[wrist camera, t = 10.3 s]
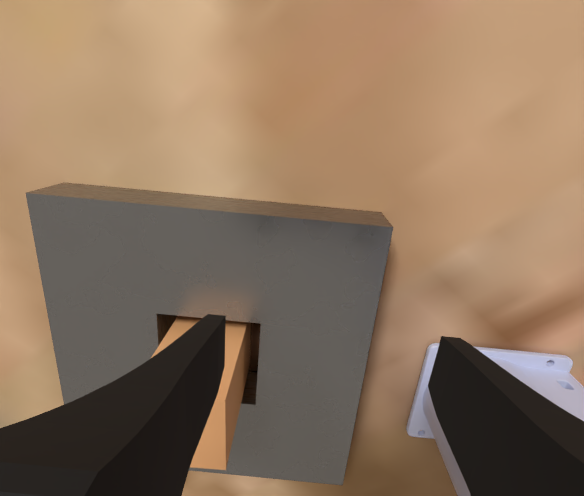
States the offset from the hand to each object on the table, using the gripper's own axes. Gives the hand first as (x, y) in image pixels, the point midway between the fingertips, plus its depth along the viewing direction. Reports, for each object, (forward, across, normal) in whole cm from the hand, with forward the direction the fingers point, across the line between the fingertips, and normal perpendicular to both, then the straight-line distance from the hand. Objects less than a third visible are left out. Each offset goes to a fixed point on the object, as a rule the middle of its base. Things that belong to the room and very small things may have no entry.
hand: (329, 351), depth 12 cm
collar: (+10, +6, +7) cm, 14 cm away
